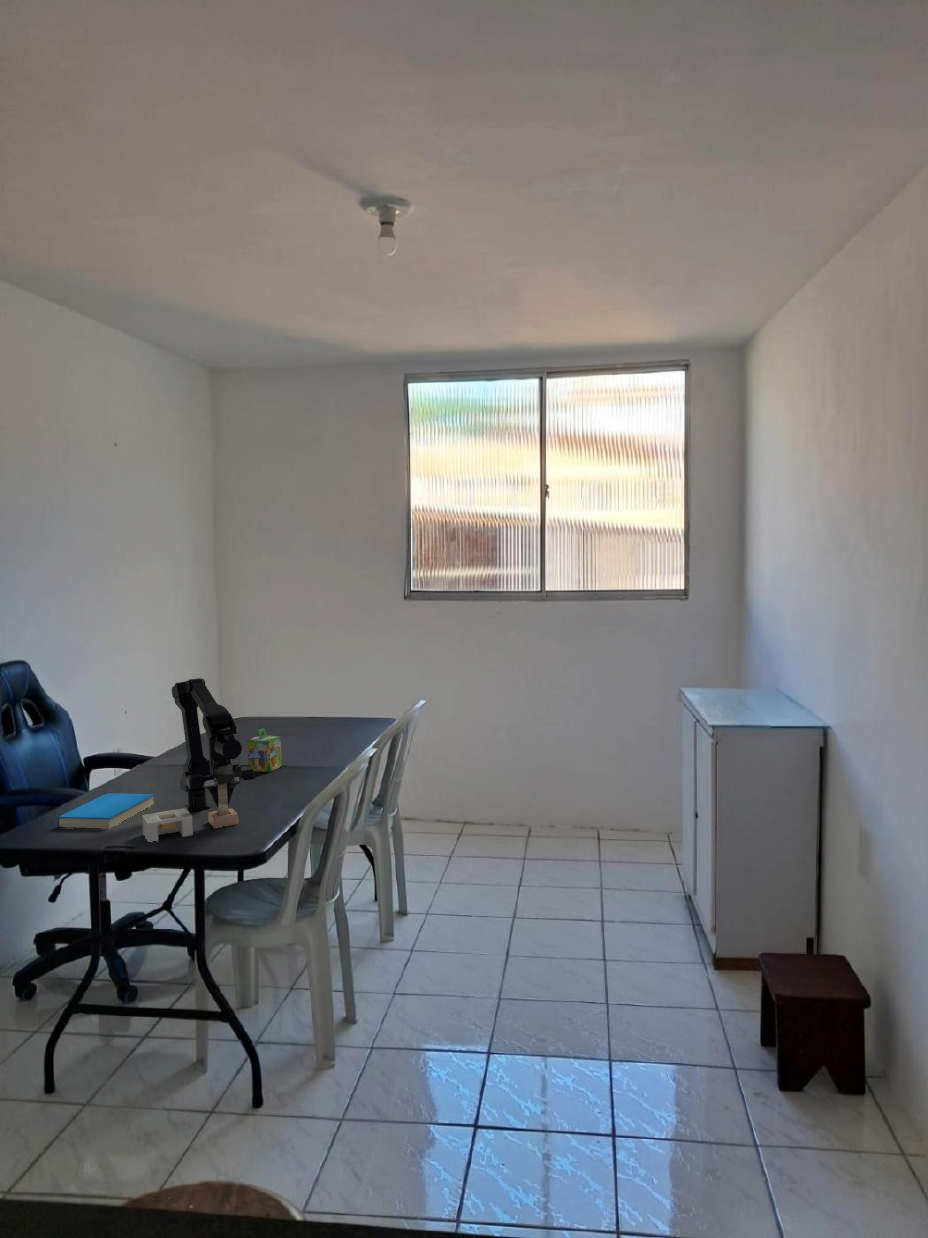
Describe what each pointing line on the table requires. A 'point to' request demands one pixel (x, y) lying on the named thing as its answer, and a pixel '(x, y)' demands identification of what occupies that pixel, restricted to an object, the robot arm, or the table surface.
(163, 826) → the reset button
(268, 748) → the printed toy box
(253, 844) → the table surface
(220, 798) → the tan square peg
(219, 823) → the holder
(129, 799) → the book
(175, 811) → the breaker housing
